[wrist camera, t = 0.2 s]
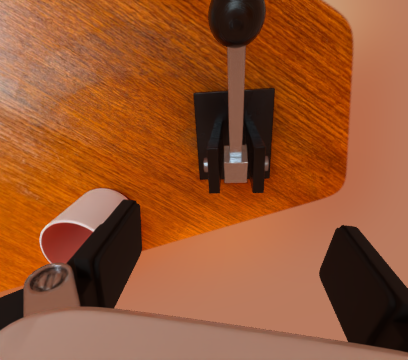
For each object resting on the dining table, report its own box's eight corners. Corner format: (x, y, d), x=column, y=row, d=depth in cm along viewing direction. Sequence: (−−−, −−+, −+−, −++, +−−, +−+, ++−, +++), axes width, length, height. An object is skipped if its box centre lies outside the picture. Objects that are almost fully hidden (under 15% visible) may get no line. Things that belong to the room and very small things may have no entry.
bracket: (194, 92, 30) (173, 103, 19) (273, 87, 29) (302, 96, 17) (200, 176, 35) (186, 226, 24) (268, 175, 34) (288, 227, 22)
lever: (207, -24, 13) (203, -11, 11) (265, -30, 13) (272, -18, 11) (219, 163, 24) (219, 186, 22) (250, 162, 24) (252, 186, 22)
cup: (149, 227, 40) (126, 271, 31) (102, 240, 42) (68, 285, 33) (120, 177, 37) (85, 211, 28) (71, 195, 39) (23, 231, 30)
